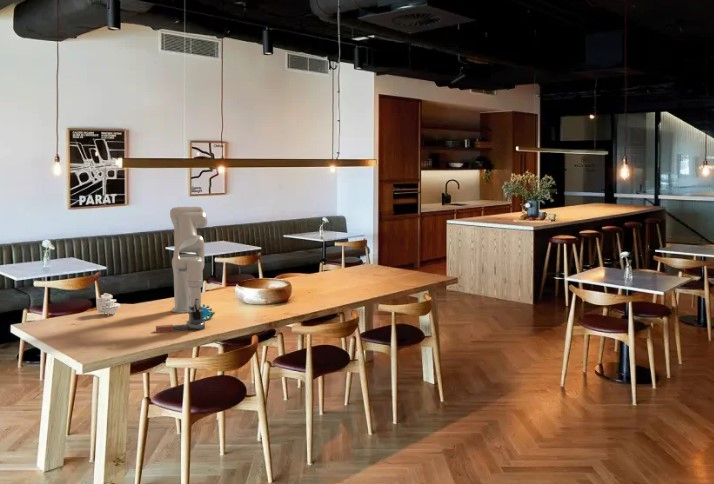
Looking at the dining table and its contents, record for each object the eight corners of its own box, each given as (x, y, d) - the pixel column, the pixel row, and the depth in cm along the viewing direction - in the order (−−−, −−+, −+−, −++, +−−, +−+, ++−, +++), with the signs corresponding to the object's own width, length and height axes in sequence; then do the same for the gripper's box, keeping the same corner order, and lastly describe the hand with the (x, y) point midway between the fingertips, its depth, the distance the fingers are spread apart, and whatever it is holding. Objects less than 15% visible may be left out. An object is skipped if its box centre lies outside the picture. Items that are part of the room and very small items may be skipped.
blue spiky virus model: (192, 318, 336) (194, 302, 343) (191, 324, 341) (193, 308, 347) (214, 320, 339) (215, 304, 345) (213, 326, 343) (214, 310, 350)
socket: (188, 321, 324) (188, 306, 323) (200, 320, 326) (200, 305, 325) (190, 324, 319) (190, 308, 318) (202, 323, 321) (202, 307, 320)
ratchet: (155, 329, 319) (154, 315, 319) (203, 325, 328) (203, 312, 328) (157, 334, 311) (156, 319, 310) (206, 329, 320) (206, 316, 319)
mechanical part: (121, 315, 348) (120, 294, 347) (97, 317, 343) (96, 296, 341) (119, 311, 358) (118, 290, 357) (96, 313, 353) (95, 292, 352)
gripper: (184, 281, 326) (185, 314, 328) (189, 287, 311) (190, 322, 313) (199, 280, 329) (200, 313, 331) (205, 286, 314) (206, 320, 315)
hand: (195, 317), depth 322 cm, fingers open, 9 cm apart
